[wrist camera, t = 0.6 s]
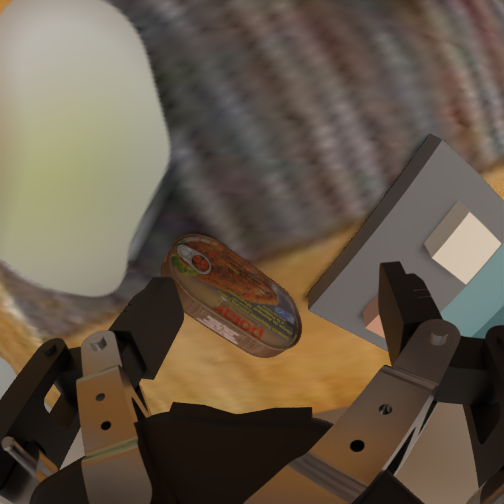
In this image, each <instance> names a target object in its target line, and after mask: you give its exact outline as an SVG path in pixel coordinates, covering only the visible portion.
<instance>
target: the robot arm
mask: <svg viewBox="0 0 504 504" xmlns="http://www.w3.org/2000/svg"><path fill="white" fill-rule="evenodd" d="M378 310H379V316H380V319H381V323H382V327H383V331H384V335H385V339H386V343H387V348H388V352H389V356H390V361H391V365H392V366H391V367H390V366H388V365H384V366H383V367H382V368H381V369H380V370H379V371H378V372H377V374H376V375H375V376H374V378H373V379H372V380H371V381H370V383H369V384H368V385H367V386H366V388H365V389H364V390H363V391H362V392H361V394H360V395H359V396H358V397H357V398H356V400H355V401H354V402H353V403H352V404H351V406H350V407H349V408H348V409H347V410H346V411H345V413H344V414H343V415H342V416H341V417H340V418H339V419H338V420H337V422H336V423H335V424H333V423H330V422H328V421H325V420H321V419H318V418H313V417H312V407H300V408H272V409H266V410H261V411H255V412H249V413H243V414H233V413H230V412H226V411H223V410H219V409H216V408H213V407H209V406H206V405H200V404H188V403H178V402H173V403H172V406H171V408H170V411H169V412H164V413H159V414H155V415H152V414H151V411H150V408H149V406H148V403H147V400H146V397H145V394H144V391H143V389H142V386H141V385H140V383H139V382H140V380H141V379H151V380H154V378H155V376H156V374H157V372H158V370H159V368H160V366H161V365H162V363H163V361H164V359H165V357H166V355H167V353H168V351H169V349H170V347H171V345H172V343H173V341H174V339H175V337H176V335H177V333H178V331H179V329H180V327H181V325H182V323H183V320H184V310H183V306H182V303H181V300H180V297H179V294H178V291H177V288H176V285H175V282H174V279H173V278H172V277H155V278H153V279H152V280H151V281H150V282H149V284H148V285H147V286H146V287H145V289H144V290H142V291H141V292H139V293H138V294H137V295H135V296H134V297H133V298H132V299H131V301H130V302H129V303H128V306H126V307H125V309H124V310H123V312H121V314H120V315H119V316H118V318H117V319H116V320H115V322H114V323H113V324H112V326H111V327H110V328H109V330H102V331H98V332H95V333H93V334H91V335H90V336H88V337H87V338H86V339H85V340H84V341H83V343H82V345H81V347H77V348H71V349H68V347H67V345H66V344H65V342H64V340H63V339H60V338H55V339H51V340H49V341H47V342H45V343H44V344H42V345H41V346H40V347H39V348H38V350H37V351H36V352H35V353H34V355H33V356H32V357H31V359H30V360H29V361H28V363H27V364H26V365H25V366H24V368H23V369H22V370H21V372H20V373H19V374H18V376H17V377H16V379H15V380H14V381H13V383H12V384H11V385H10V387H9V388H8V390H7V391H6V392H5V394H4V395H3V397H2V398H1V400H0V502H2V503H3V504H424V503H423V502H422V501H421V500H420V499H419V498H418V497H416V496H415V495H414V494H413V493H412V492H411V491H410V490H409V489H407V488H406V487H405V486H404V485H403V484H402V483H401V482H400V481H399V480H398V479H397V478H396V477H395V475H396V474H397V472H398V471H399V469H400V468H401V466H402V465H403V463H404V462H405V460H406V458H407V457H408V455H409V453H410V452H411V450H412V448H413V446H414V444H415V443H416V441H417V439H418V438H419V436H420V434H421V433H422V431H423V429H424V428H425V426H426V424H427V423H428V421H429V419H430V417H431V416H432V414H433V412H434V410H435V408H436V406H437V405H438V403H439V402H445V403H454V404H463V408H464V412H465V416H466V420H467V425H468V429H469V434H470V439H471V444H472V449H473V454H474V460H475V465H476V472H477V478H478V486H479V489H478V490H477V491H476V492H475V493H474V494H473V495H472V496H471V497H470V498H469V500H468V501H467V503H466V504H504V325H497V326H493V327H491V328H490V329H489V330H488V331H487V333H486V335H485V338H474V337H465V336H461V335H460V332H459V330H458V328H457V327H456V326H455V325H454V324H452V323H450V322H448V321H446V320H443V318H442V316H441V314H440V312H439V310H438V308H437V306H436V304H435V302H434V300H433V298H432V297H431V294H430V292H429V290H428V288H427V286H426V284H425V283H424V281H423V280H422V279H421V278H420V277H418V276H417V275H416V274H414V273H410V274H406V272H405V270H404V268H403V266H402V264H401V262H400V261H395V262H383V263H380V266H379V289H378ZM53 384H54V385H55V386H56V388H57V389H58V391H59V392H60V393H61V395H60V397H59V398H58V400H57V402H56V403H55V405H54V407H53V408H52V410H51V412H50V413H48V411H47V410H46V408H45V406H44V398H45V396H46V394H47V393H48V391H49V390H50V388H51V387H52V385H53ZM80 427H81V432H82V439H83V445H84V452H85V456H83V457H82V458H80V459H78V460H77V461H75V462H73V463H71V464H70V465H68V466H66V467H65V468H63V469H61V470H60V467H61V465H62V463H63V461H64V459H65V457H66V455H67V453H68V451H69V449H70V447H71V445H72V443H73V441H74V439H75V437H76V435H77V433H78V431H79V429H80Z"/></svg>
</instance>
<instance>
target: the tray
mask: <svg viewBox="0 0 504 504" xmlns="http://www.w3.org/2000/svg"><path fill="white" fill-rule="evenodd" d="M440 314H441V316H442V318H443V320H446V321H448V322H450V323H452V324H454V325H455V326H456V327H457V328H458V330H459V332H460V335H461V336H465V337H474V338H485V335H486V333H487V331H488V330H489V329H490V328H491V327H493V326H497V325H504V243H503V245H502V246H501V247H500V248H499V249H498V251H497V252H496V253H495V254H494V255H493V257H492V258H491V259H490V260H489V261H488V263H487V264H486V265H485V266H484V267H483V268H482V269H481V271H480V272H479V273H478V274H477V275H476V276H475V277H474V278H473V279H472V281H471V282H470V283H469V284H468V285H467V286H466V287H465V288H464V289H463V290H462V291H461V292H460V293H459V294H458V295H457V296H456V298H455V299H454V300H453V301H452V302H451V303H450V304H449V305H448V306H447V307H446V308H445V309H444V310H443V311H442V312H441V313H440Z"/></svg>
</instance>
